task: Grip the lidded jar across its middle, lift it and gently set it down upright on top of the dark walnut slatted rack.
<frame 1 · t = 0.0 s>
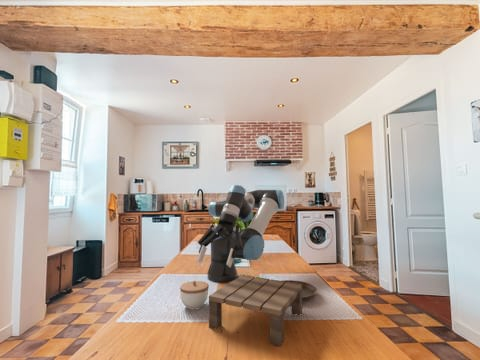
hand: (213, 263, 105), 15 cm above the table, tool tilted 35°, fingers open, 13 cm apart
walnut rack: (258, 319, 92), on the table
lidded jar: (194, 306, 103), on the table
plant saucer: (291, 296, 113), on the table
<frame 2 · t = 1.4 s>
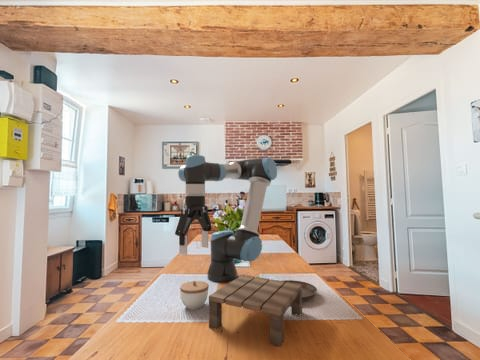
hand: (194, 250, 104), 21 cm above the table, tool pointing down, fingers open, 13 cm apart
nothing on the table moved.
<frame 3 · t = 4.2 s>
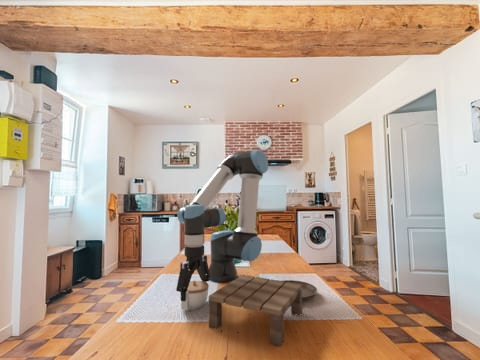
hand: (194, 303, 103), 1 cm above the table, tool pointing down, fingers closed on lidded jar, 11 cm apart
lidded jar: (194, 306, 103), on the table, touching gripper
everything else where it was.
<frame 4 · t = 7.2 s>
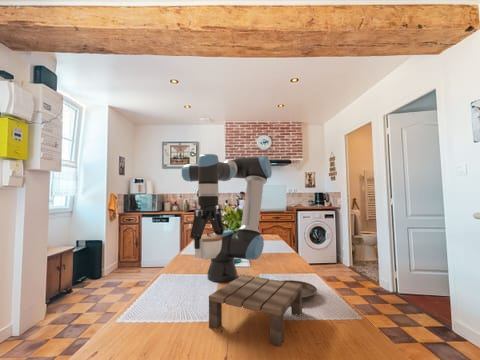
hand: (208, 254, 101), 20 cm above the table, tool pointing down, fingers closed on lidded jar, 11 cm apart
lidded jar: (208, 257, 101), point 19 cm above the table, touching gripper
everything else where it was.
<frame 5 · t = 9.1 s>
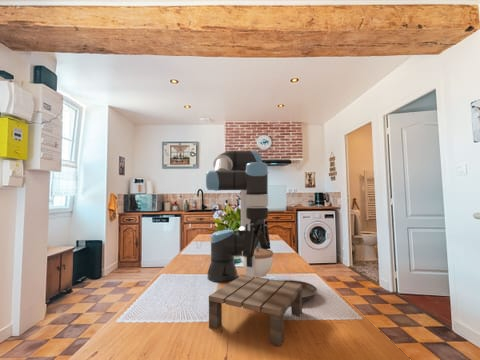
hand: (257, 271, 92), 16 cm above the table, tool pointing down, fingers closed on lidded jar, 11 cm apart
lidded jar: (257, 275, 92), point 15 cm above the table, touching gripper
everything else where it was.
when the fingers open (13 cm above the table, at t = 10.6 s): lidded jar drops 2 cm, resting on walnut rack.
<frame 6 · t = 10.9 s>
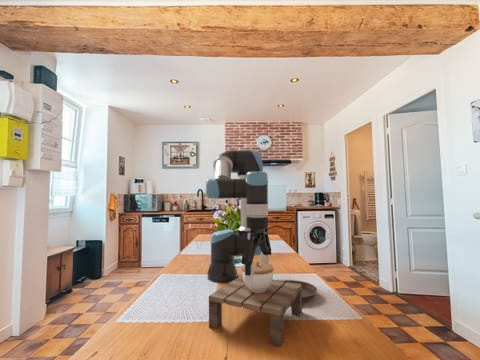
hand: (257, 278, 92), 14 cm above the table, tool pointing down, fingers open, 13 cm apart
lidded jar: (257, 290, 92), point 10 cm above the table, touching walnut rack
everything else where it was.
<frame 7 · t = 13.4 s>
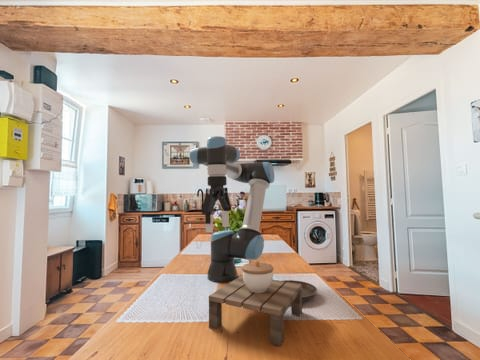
hand: (217, 229, 107), 29 cm above the table, tool pointing down, fingers open, 13 cm apart
nothing on the table moved.
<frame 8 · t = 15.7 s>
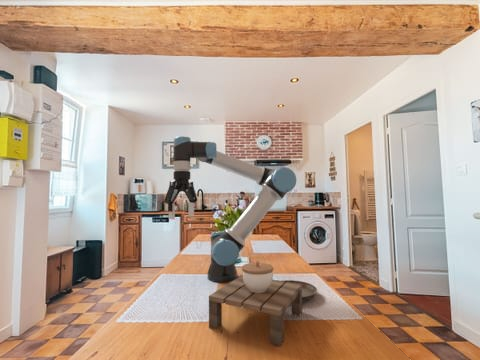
hand: (181, 217, 122), 32 cm above the table, tool pointing down, fingers open, 13 cm apart
nothing on the table moved.
at the end: lidded jar inside the target area on the walnut rack (0.1 cm from its centre), point 9.8 cm above the walnut rack's base; lidded jar tilted 0°; the gripper is holding nothing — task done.
